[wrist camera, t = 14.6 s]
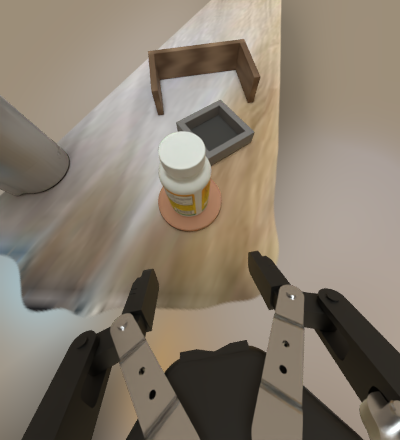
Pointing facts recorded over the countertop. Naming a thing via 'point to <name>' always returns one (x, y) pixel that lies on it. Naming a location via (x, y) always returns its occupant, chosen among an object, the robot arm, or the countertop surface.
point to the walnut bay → (203, 65)
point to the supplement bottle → (185, 172)
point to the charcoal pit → (217, 130)
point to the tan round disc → (194, 221)
